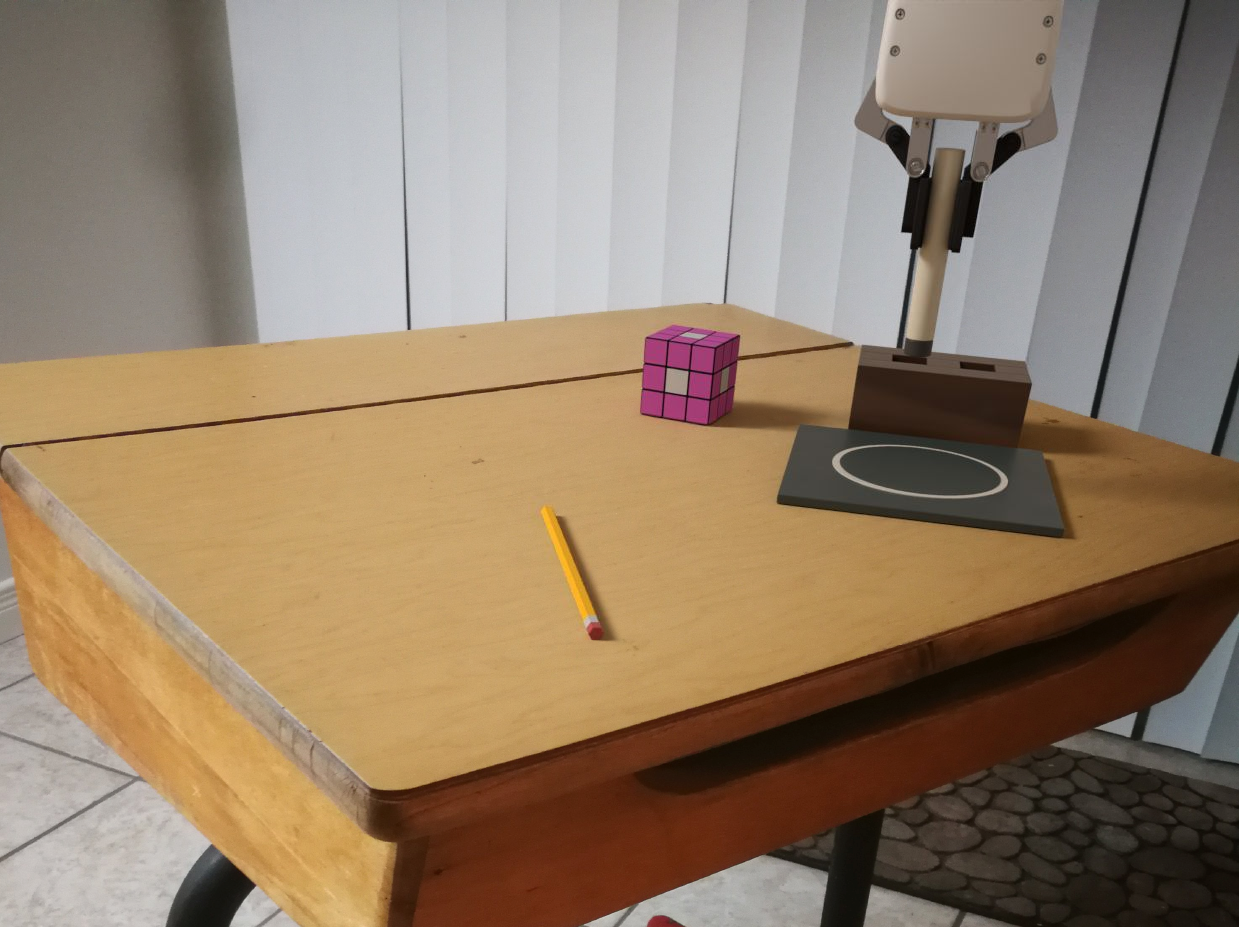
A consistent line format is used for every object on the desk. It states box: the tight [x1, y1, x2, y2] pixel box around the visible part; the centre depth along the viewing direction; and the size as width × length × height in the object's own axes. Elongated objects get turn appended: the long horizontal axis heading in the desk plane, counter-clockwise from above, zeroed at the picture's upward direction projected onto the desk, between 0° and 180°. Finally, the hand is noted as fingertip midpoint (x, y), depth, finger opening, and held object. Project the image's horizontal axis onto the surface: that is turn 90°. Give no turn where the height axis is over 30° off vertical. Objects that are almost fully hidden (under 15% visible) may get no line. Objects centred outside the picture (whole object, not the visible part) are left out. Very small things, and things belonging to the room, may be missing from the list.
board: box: [776, 423, 1065, 538], centre depth 89 cm, size 18×18×1 cm
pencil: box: [540, 505, 605, 641], centre depth 71 cm, size 1×18×1 cm, turn 10°
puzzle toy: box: [639, 324, 741, 426], centre depth 99 cm, size 6×6×6 cm
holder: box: [847, 344, 1033, 448], centre depth 99 cm, size 8×13×5 cm, turn 78°
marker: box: [903, 147, 966, 357], centre depth 82 cm, size 2×2×12 cm
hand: (934, 245), depth 81 cm, fingers closed on marker, 1 cm apart
